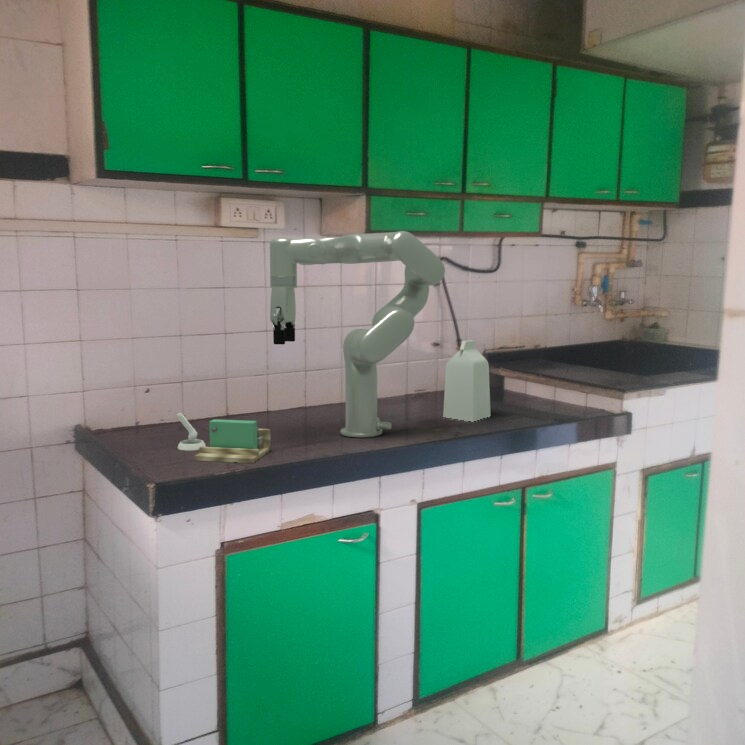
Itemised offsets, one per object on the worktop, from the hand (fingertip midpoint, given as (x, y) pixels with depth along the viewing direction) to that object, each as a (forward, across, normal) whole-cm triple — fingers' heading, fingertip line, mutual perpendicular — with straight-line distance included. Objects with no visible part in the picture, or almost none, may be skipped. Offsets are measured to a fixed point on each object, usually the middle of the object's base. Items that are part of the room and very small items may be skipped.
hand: (284, 342), depth 207 cm
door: (+27, +21, -8) cm, 35 cm away
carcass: (+28, +21, -8) cm, 36 cm away
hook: (+29, +14, -23) cm, 39 cm away
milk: (+29, -44, +50) cm, 72 cm away
